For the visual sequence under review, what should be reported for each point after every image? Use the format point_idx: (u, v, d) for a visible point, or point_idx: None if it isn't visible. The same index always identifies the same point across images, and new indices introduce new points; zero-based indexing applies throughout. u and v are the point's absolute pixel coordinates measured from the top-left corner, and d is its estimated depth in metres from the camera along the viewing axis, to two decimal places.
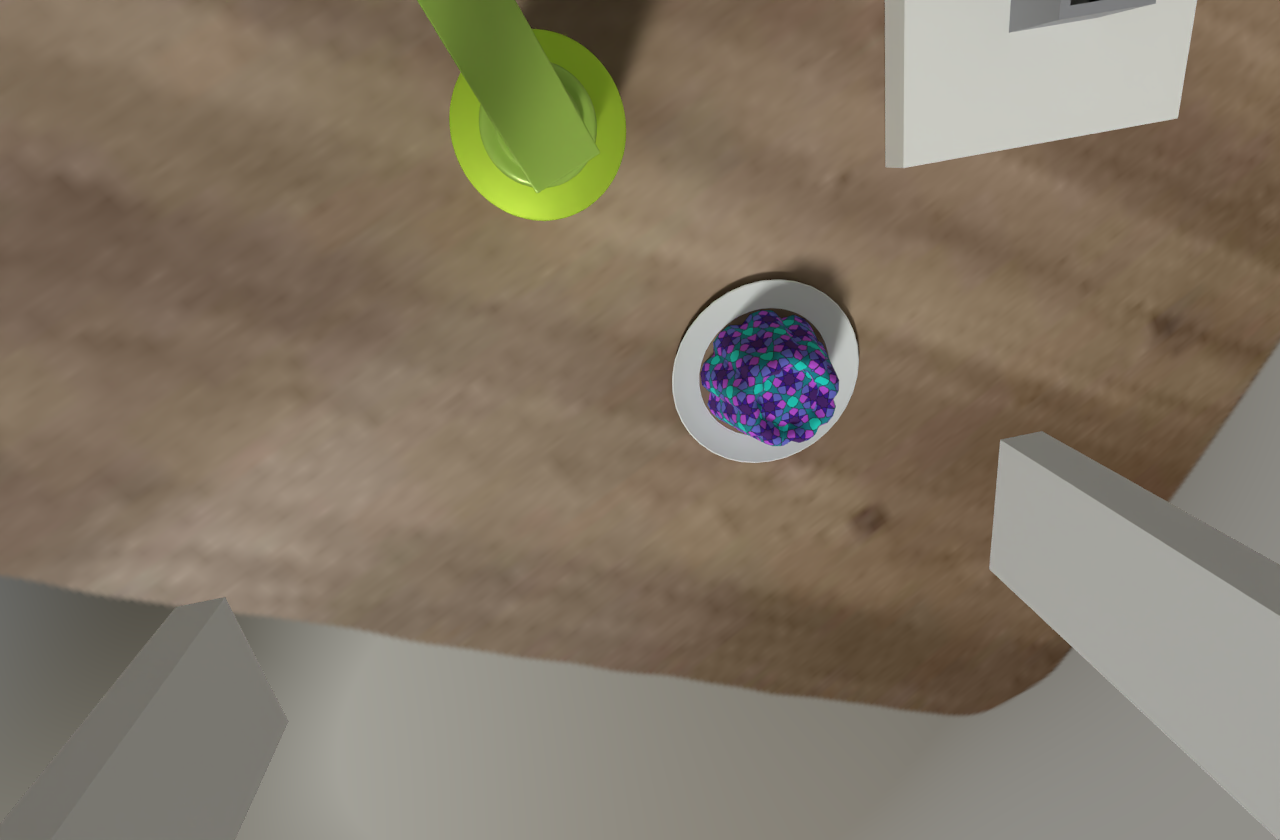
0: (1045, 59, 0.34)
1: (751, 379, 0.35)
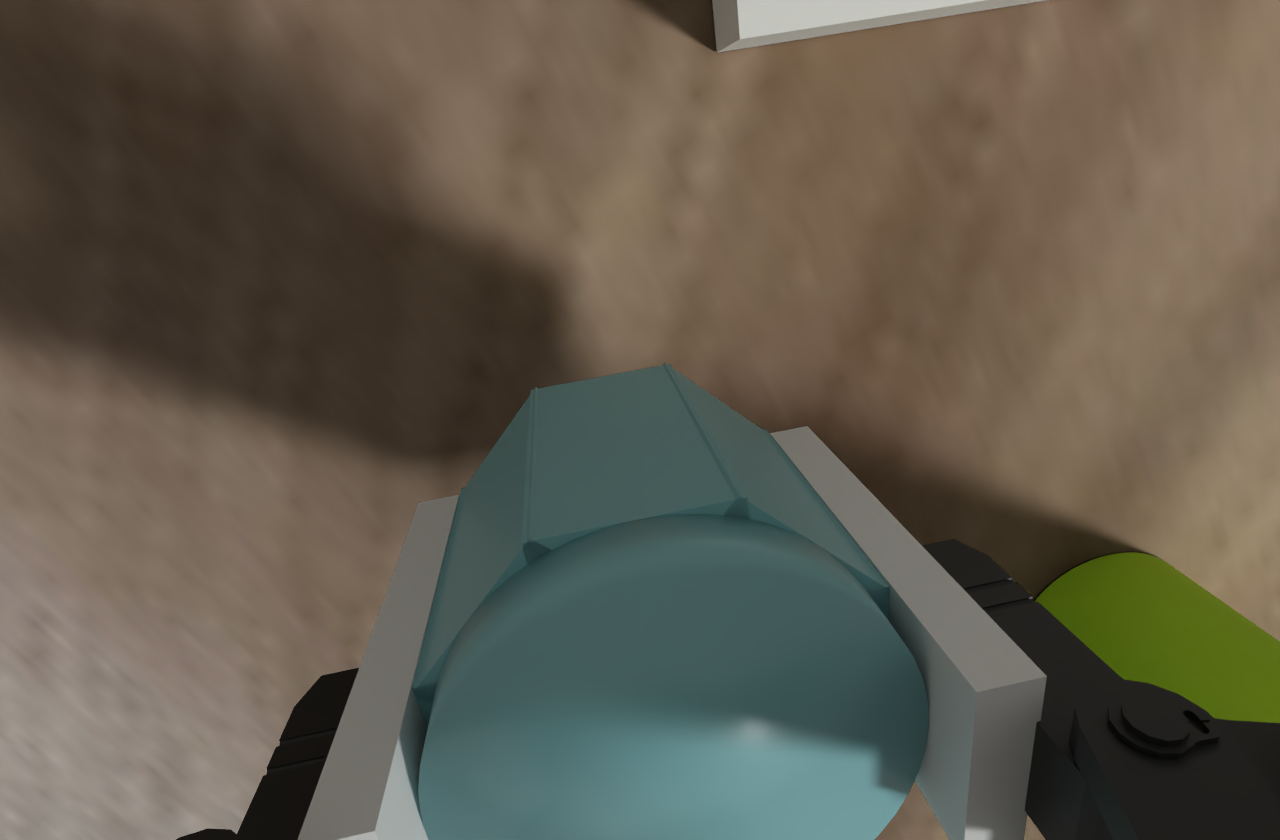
0: None
1: None
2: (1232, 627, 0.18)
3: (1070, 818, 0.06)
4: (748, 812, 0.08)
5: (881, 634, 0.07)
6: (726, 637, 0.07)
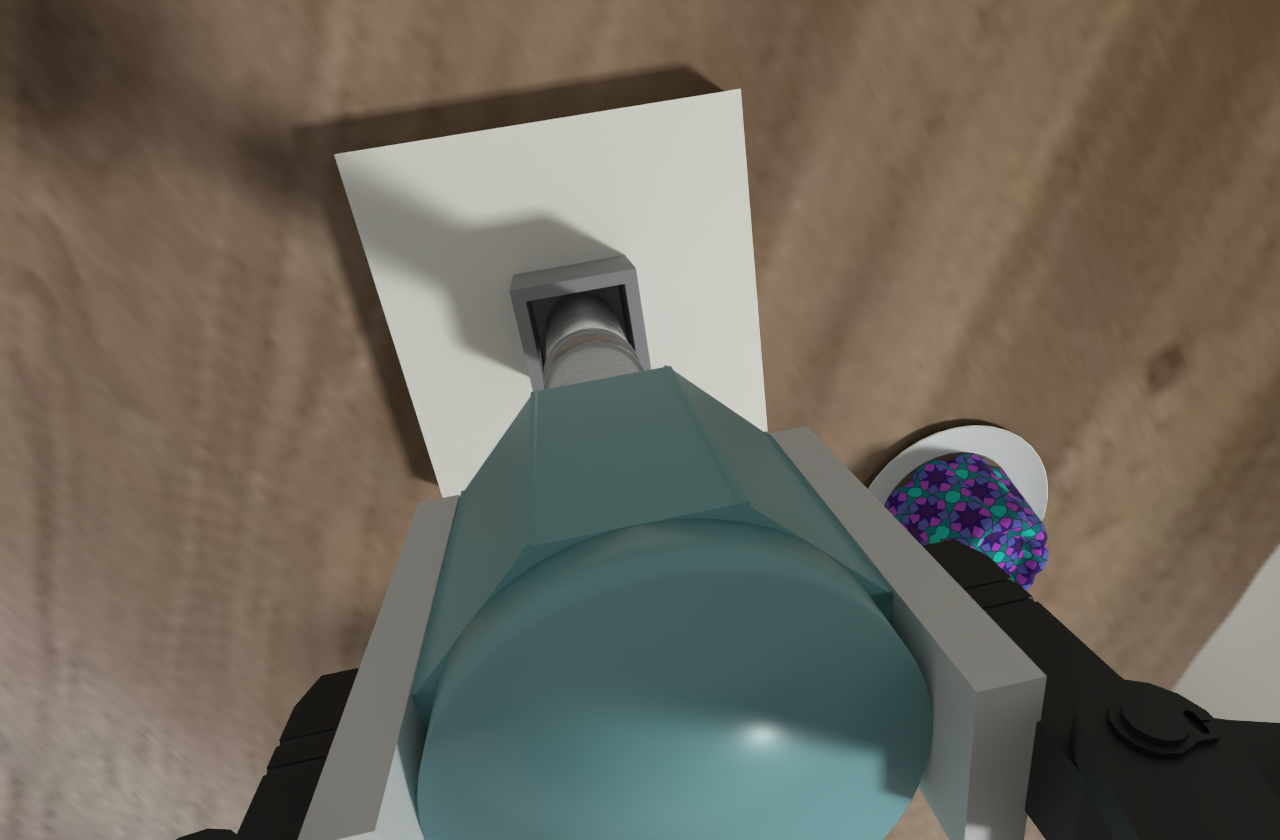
0: (667, 309, 0.29)
1: None
2: None
3: (1070, 818, 0.06)
4: (750, 819, 0.08)
5: (884, 640, 0.07)
6: (728, 643, 0.07)
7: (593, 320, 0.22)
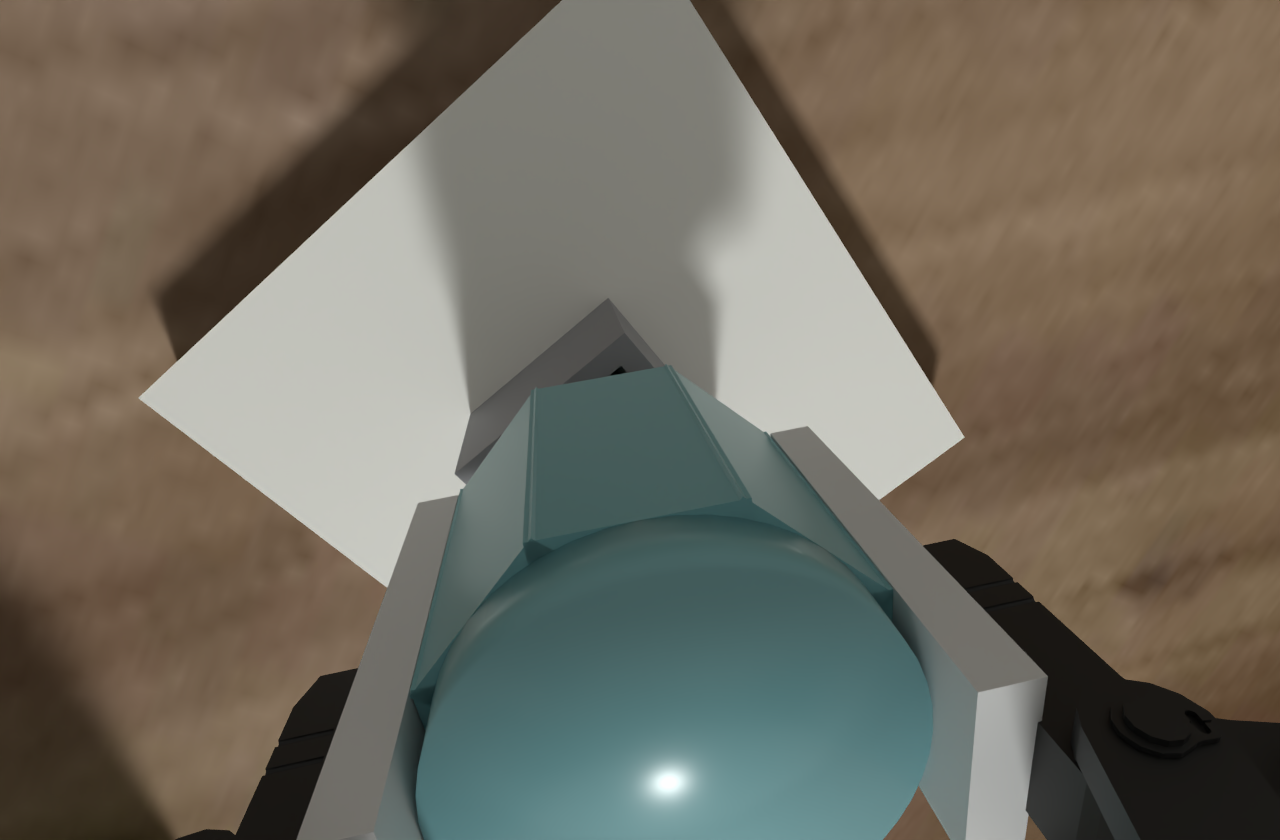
0: None
1: None
2: None
3: (1071, 818, 0.06)
4: (750, 818, 0.08)
5: (886, 637, 0.07)
6: (729, 639, 0.07)
7: None
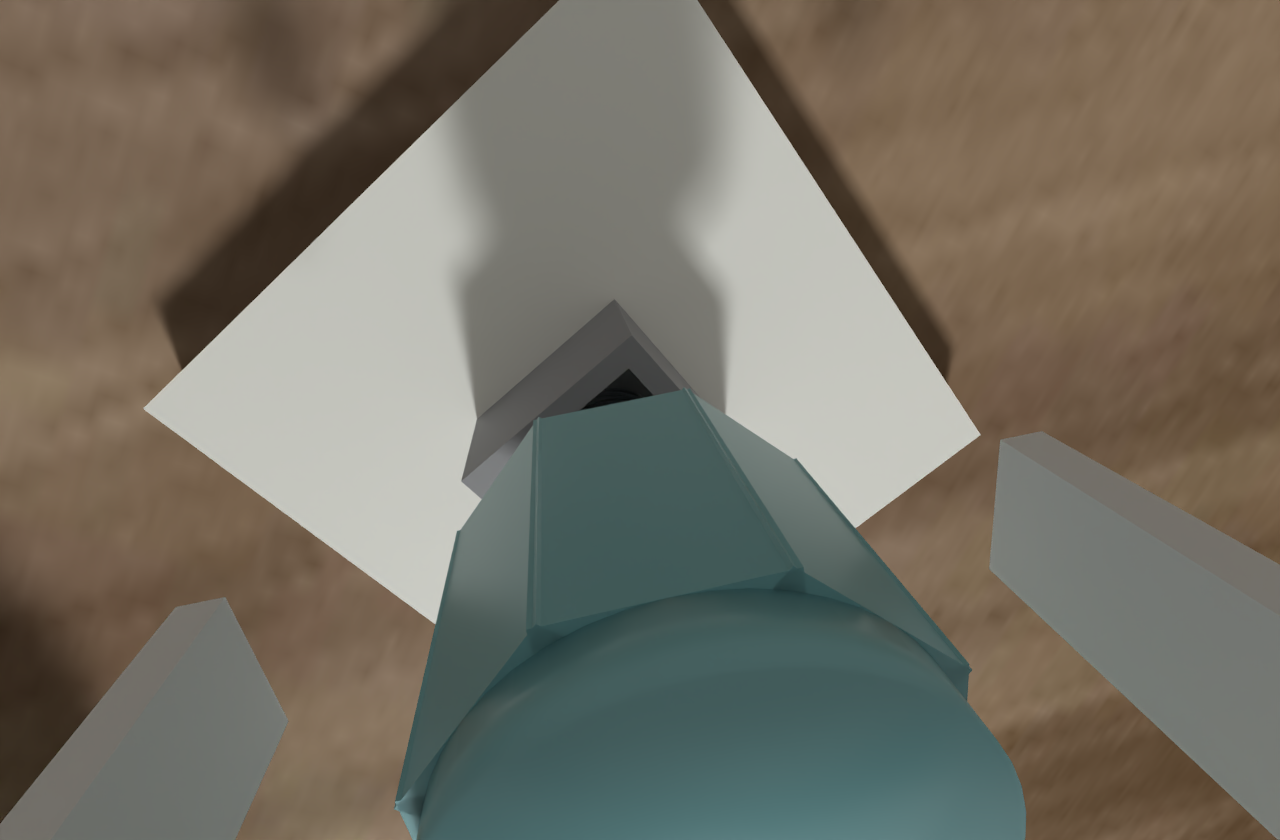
0: None
1: None
2: None
3: None
4: None
5: (974, 739, 0.06)
6: (784, 750, 0.05)
7: None
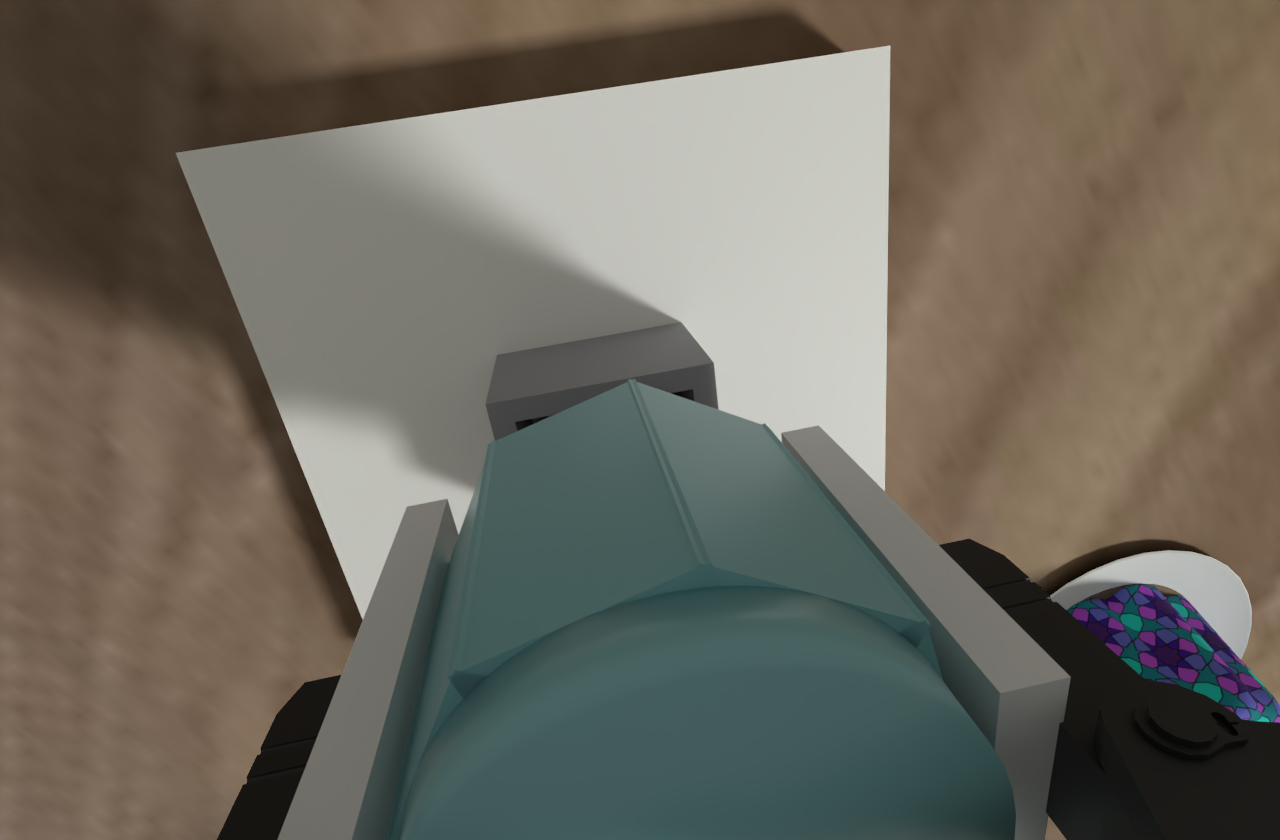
0: (745, 405, 0.18)
1: None
2: None
3: (1093, 819, 0.06)
4: None
5: (666, 694, 0.05)
6: (540, 837, 0.05)
7: None
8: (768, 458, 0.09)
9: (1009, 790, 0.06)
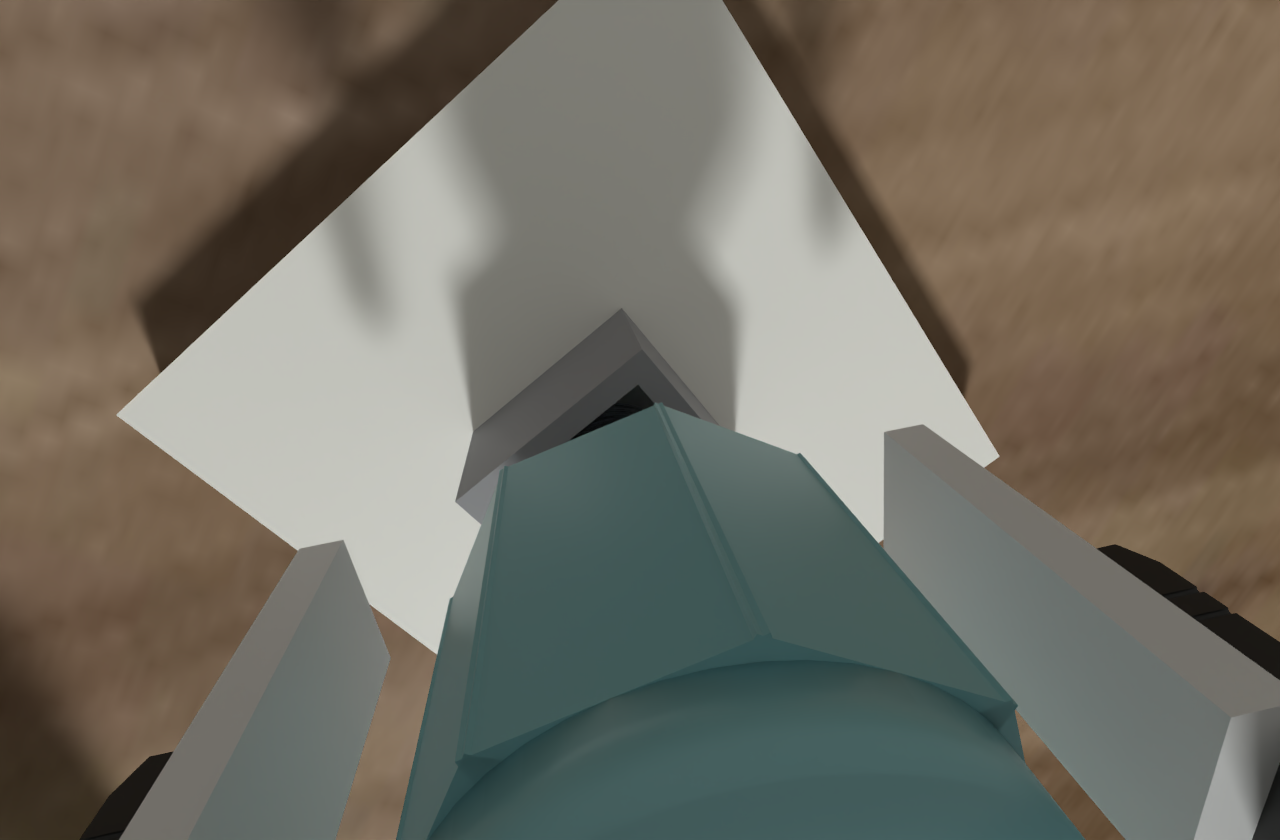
0: None
1: None
2: None
3: None
4: None
5: (725, 806, 0.04)
6: None
7: None
8: (810, 495, 0.08)
9: None
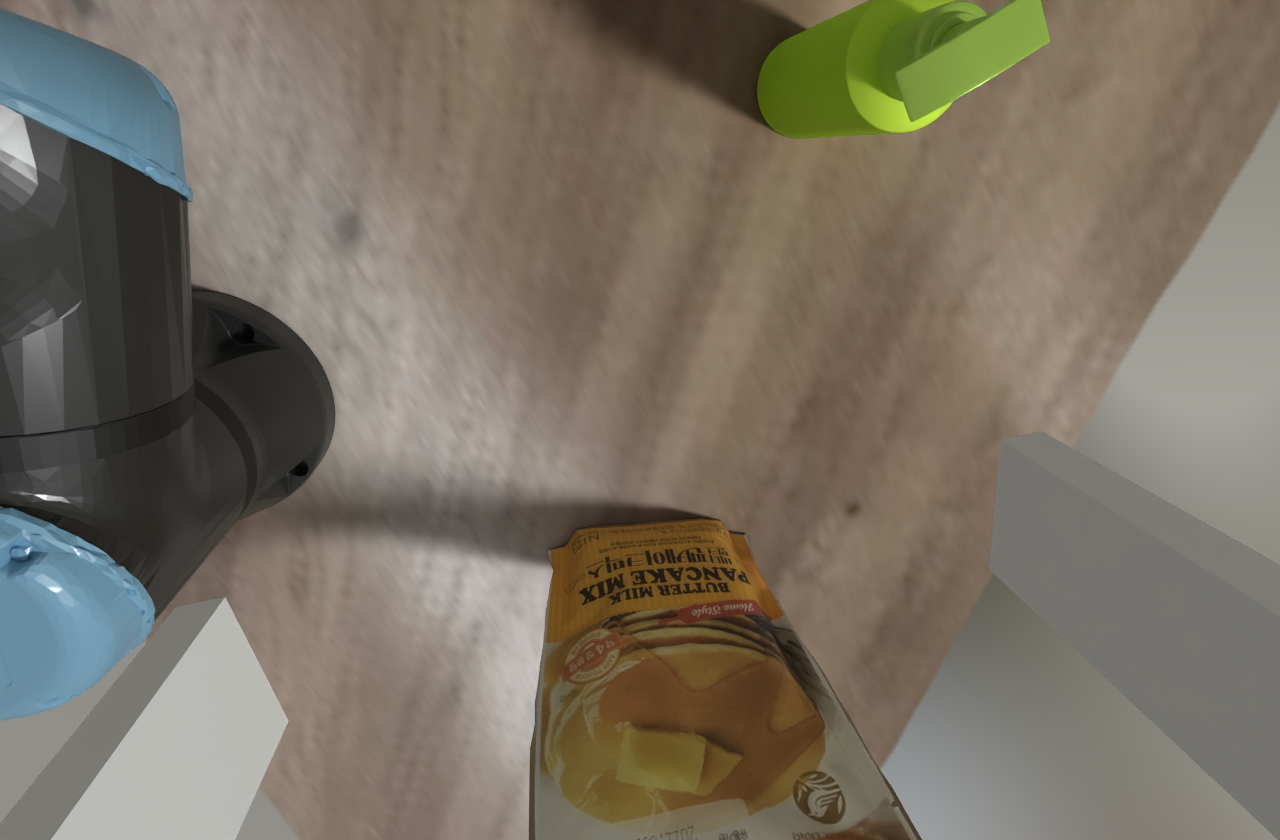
0: None
1: None
2: None
3: None
4: None
5: None
6: None
7: None
8: None
9: None
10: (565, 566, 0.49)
